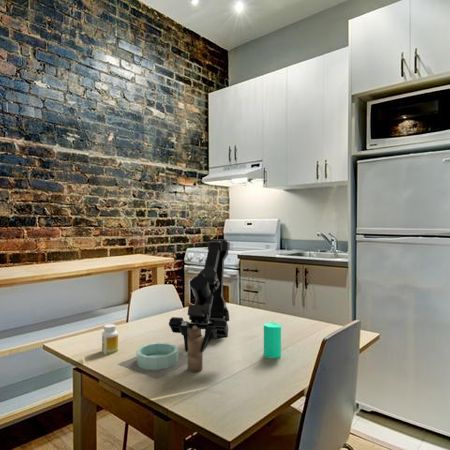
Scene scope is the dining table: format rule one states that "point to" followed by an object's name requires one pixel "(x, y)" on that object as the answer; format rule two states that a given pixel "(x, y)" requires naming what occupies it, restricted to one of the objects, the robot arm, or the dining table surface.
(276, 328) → the candle
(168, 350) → the bowl
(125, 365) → the mat
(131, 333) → the dining table surface
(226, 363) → the dining table surface
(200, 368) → the mill
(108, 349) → the supplement bottle
